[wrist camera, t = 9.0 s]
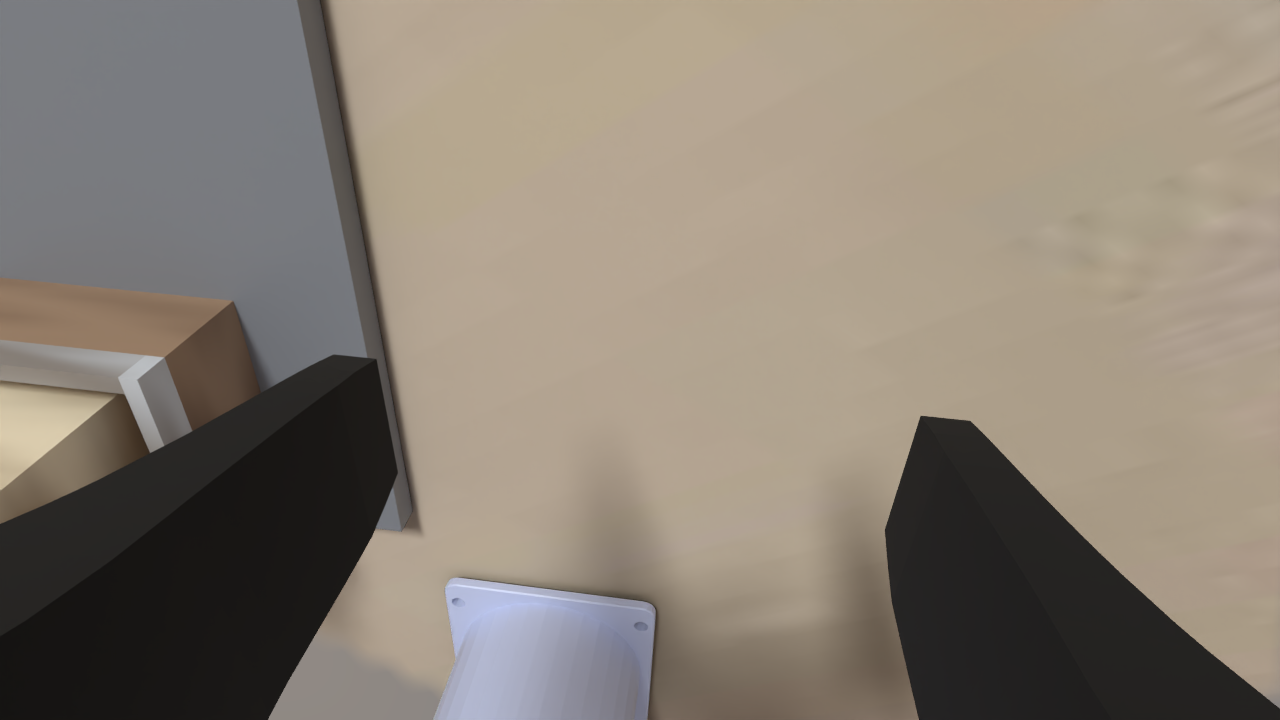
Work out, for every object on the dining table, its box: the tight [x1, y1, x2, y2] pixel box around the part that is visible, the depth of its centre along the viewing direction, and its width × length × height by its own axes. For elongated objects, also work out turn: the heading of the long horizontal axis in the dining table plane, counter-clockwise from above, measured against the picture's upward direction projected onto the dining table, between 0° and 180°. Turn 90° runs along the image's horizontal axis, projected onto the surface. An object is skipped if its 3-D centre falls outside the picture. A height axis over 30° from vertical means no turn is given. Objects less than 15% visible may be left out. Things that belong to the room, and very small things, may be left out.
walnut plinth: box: [0, 278, 261, 453], centre depth 22 cm, size 8×8×4 cm
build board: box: [0, 0, 413, 532], centre depth 22 cm, size 18×12×1 cm, turn 177°
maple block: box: [0, 380, 150, 524], centre depth 19 cm, size 4×4×5 cm
